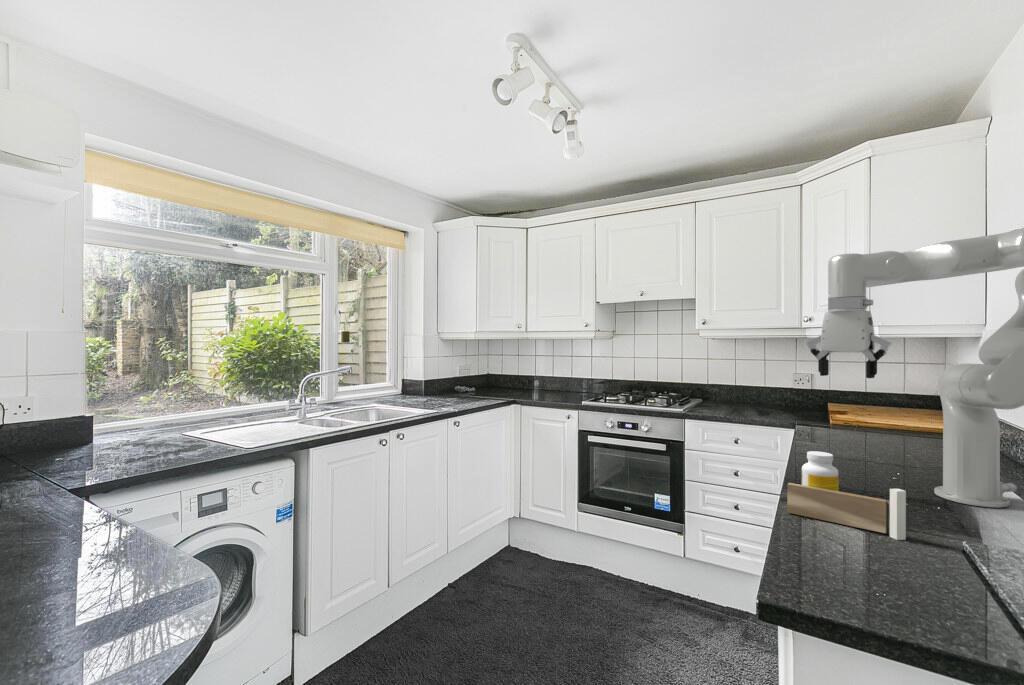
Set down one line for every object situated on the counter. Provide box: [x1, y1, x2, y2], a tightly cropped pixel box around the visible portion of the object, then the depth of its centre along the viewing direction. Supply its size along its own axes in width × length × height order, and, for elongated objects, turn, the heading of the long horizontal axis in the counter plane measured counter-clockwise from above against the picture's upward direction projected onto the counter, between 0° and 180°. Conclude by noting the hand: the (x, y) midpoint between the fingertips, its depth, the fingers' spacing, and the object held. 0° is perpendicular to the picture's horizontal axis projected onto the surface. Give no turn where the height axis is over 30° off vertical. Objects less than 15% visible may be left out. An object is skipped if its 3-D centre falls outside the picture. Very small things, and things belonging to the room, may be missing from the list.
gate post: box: [889, 488, 907, 541], centre depth 88 cm, size 2×2×9 cm
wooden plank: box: [786, 482, 890, 535], centre depth 95 cm, size 2×18×6 cm, turn 48°
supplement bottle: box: [801, 450, 840, 492], centre depth 101 cm, size 7×7×13 cm
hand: (846, 376), depth 114 cm, fingers open, 9 cm apart
